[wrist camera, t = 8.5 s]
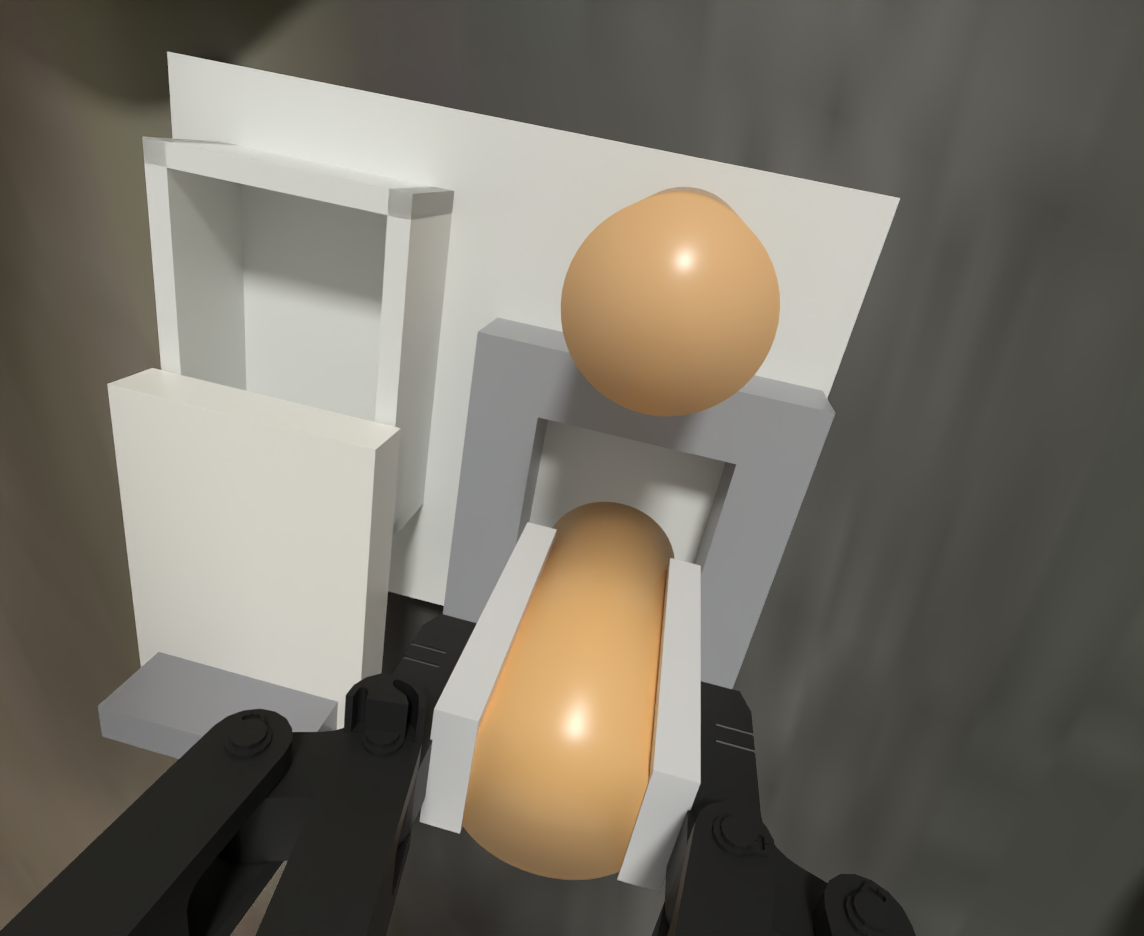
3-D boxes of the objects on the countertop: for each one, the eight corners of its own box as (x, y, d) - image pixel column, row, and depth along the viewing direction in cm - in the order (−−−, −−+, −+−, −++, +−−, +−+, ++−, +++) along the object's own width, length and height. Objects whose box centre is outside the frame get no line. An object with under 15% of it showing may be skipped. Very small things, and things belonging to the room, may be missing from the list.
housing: (203, 59, 20) (-173, -26, 11) (885, 196, 18) (1049, 217, 10) (224, 522, 27) (-2, 688, 18) (723, 652, 25) (735, 901, 16)
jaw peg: (555, 488, 18) (458, 697, 11) (688, 519, 18) (681, 756, 10) (535, 598, 19) (439, 846, 12) (658, 628, 19) (633, 901, 12)
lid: (152, 368, 19) (24, 413, 15) (401, 428, 18) (328, 490, 15) (176, 643, 23) (80, 730, 20) (379, 700, 23) (318, 799, 19)
